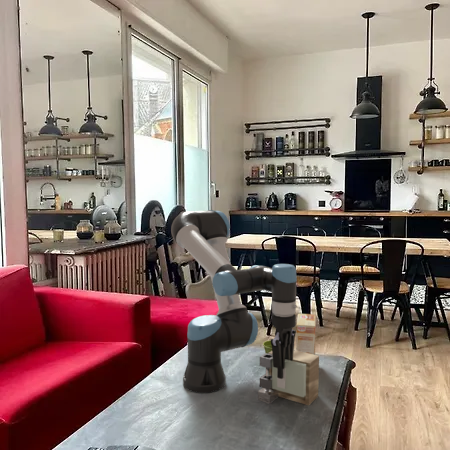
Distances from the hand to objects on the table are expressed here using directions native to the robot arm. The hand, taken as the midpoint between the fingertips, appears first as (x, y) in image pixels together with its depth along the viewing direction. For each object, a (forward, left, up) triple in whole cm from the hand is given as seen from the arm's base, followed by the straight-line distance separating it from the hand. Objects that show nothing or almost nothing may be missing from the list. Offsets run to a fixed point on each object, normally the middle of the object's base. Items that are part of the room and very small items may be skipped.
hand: (283, 385), depth 144 cm
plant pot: (-17, +26, -7) cm, 32 cm away
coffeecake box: (-6, +30, -7) cm, 31 cm away
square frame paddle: (0, 0, -1) cm, 1 cm away
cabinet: (-1, +5, -6) cm, 8 cm away
